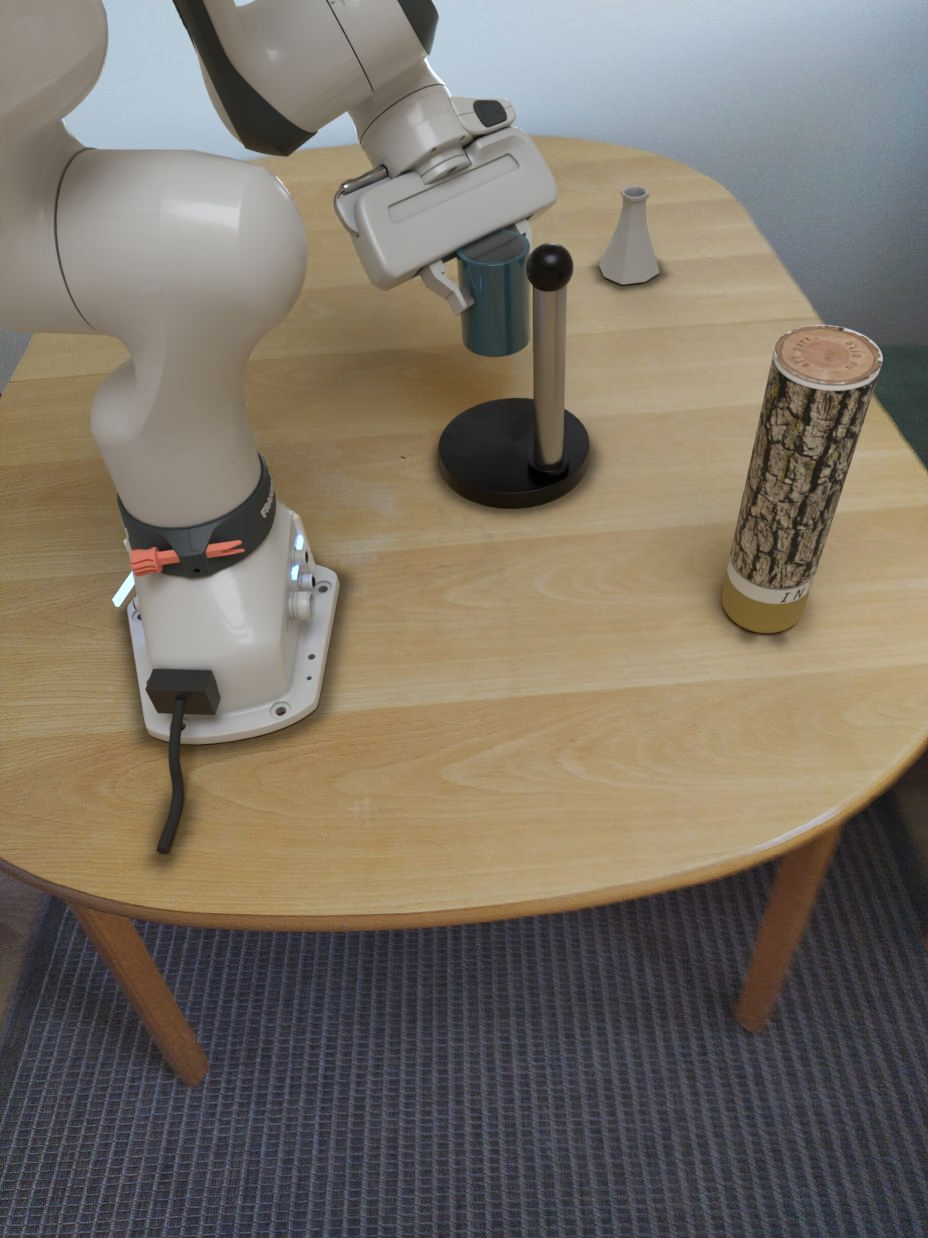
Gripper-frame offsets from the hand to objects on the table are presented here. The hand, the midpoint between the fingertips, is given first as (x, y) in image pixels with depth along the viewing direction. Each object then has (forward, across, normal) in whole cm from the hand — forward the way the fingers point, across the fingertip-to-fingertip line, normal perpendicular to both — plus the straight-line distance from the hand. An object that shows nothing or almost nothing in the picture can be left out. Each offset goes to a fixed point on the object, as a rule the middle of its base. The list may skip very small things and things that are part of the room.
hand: (499, 292), depth 84 cm
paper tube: (+35, +1, -10) cm, 36 cm away
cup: (+3, 0, +4) cm, 5 cm away
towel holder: (+14, -1, +10) cm, 17 cm away
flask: (+2, +34, +22) cm, 40 cm away
